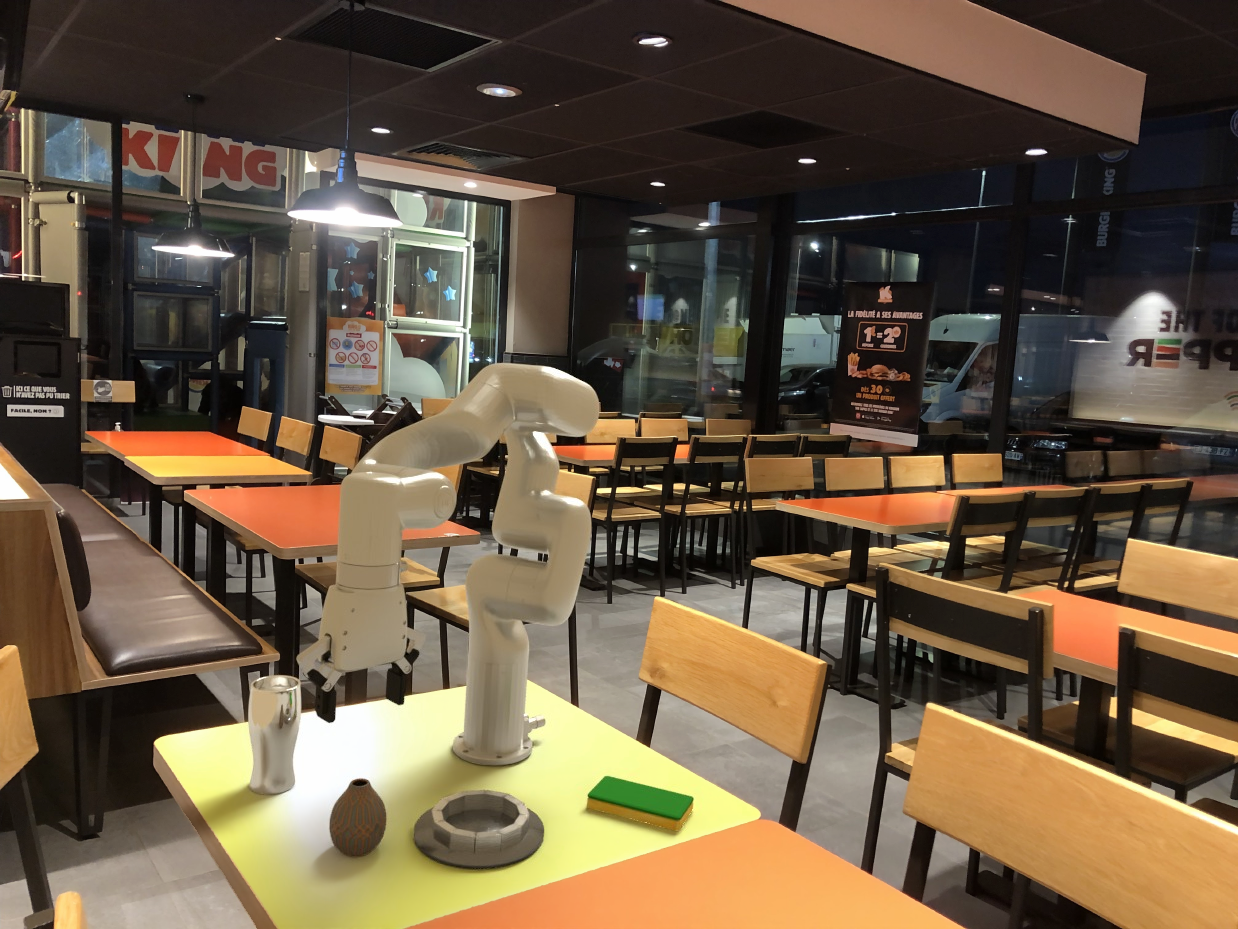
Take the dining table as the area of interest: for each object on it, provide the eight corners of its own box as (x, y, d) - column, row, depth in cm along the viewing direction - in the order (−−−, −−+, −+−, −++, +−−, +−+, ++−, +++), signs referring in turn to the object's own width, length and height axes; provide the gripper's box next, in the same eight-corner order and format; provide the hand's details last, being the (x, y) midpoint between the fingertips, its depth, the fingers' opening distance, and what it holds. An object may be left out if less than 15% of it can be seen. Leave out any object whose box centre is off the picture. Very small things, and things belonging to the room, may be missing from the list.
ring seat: (488, 791, 134) (489, 771, 134) (570, 838, 123) (571, 816, 123) (387, 829, 122) (388, 807, 121) (468, 885, 110) (470, 862, 110)
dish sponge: (604, 790, 138) (605, 774, 138) (693, 812, 133) (694, 796, 133) (585, 810, 132) (586, 794, 131) (678, 834, 127) (679, 818, 127)
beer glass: (281, 800, 127) (284, 695, 125) (235, 791, 129) (238, 688, 127) (307, 778, 134) (311, 678, 132) (264, 770, 135) (267, 671, 134)
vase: (355, 870, 112) (357, 801, 111) (316, 850, 116) (319, 783, 115) (396, 846, 118) (399, 781, 117) (358, 829, 121) (361, 765, 120)
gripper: (410, 561, 121) (402, 687, 123) (286, 576, 109) (280, 716, 110) (445, 573, 116) (436, 704, 118) (319, 590, 104) (312, 737, 105)
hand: (361, 710), depth 114 cm, fingers open, 9 cm apart
